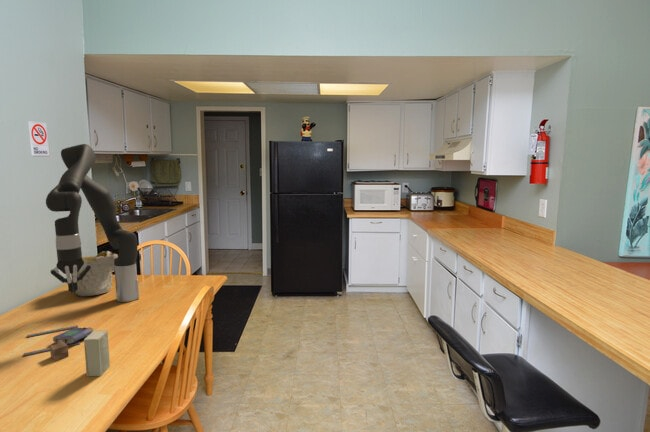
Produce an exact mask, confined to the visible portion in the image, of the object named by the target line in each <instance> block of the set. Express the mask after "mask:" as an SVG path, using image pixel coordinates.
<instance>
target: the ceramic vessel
mask: <svg viewBox="0 0 650 432" xmlns="http://www.w3.org/2000/svg"><path fill="white" fill-rule="evenodd" d="M118 256H119V254H117V253H115V252H112V251H109V250H105V251H101V252H99V253H98V254H96V255H90V256H82V259H83V261H84V263H85V264H87V265H88V264H89V265H90V266H91V268H90V269H89V271H88V272H87V273H86V275H85V276H84V277H83V279H82V280H79V281H78V282H77V287H78V290H76V292H74V293H75V295H76V296H79V297H90V296H92V297H93V296H98V295H101V294H106V293H108V292H109V291H111V289H112V286H113V272H115V269H114V259H115V258H117V257H118ZM83 270H84V269H83V266H82V268H81V269H80V270H79V272H77V277H78V276H79V275H80V274H81V272H82V271H83ZM70 276H71V280H72V282H73V273H71V274H70ZM72 284H73V283H72Z"/></svg>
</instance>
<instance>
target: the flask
mask: <svg viewBox="0 0 650 432" xmlns="http://www.w3.org/2000/svg"><path fill="white" fill-rule="evenodd" d="M93 331H94V328H92V327H78V328H77V327H75V328H73V329H69V330H65V331H64V332H62V333H59V334H57V335H54V336H53V337H52V341H53V342H54V343H55V344H58V343H62V342H64V343H66V344H71V343H74V342H79V341H80V340H81V339H85V338H86V337H87V336H88V335H90V334H91V333H92V332H93Z"/></svg>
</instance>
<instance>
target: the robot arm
mask: <svg viewBox="0 0 650 432" xmlns="http://www.w3.org/2000/svg"><path fill="white" fill-rule="evenodd" d="M60 157H61V160H62V162H63V163H64V165H65V167H66V168H67V170H66V171H64V173H62V175H61V177H60V179H59V182H58V184H57V185H56V186H55V187H54V188H52V189H51V190H50V191H49V192H48V194H47V195H46V198H45V205H46V207H47V209H48V210H49V211H51V212H55V213H56V212H57V213H58V212H69V214H68V215H67V216H64V217H60V218H57V219H56V220H54V230H55V249H56V258H57V262H56V266H55V267H53V268H52V269H51V270H50V274H51V275H52V276H53V277H55V278H56V279H57V280H59V281H60V282H61V283H65V284H67V287H68V293H69V292H70V293H72V294H73V293H75V292H76V290H78V287H77V282H78V281H79V280H82V279H83V277H84V276H85V275H86V273H87V272H88V271H89V269H90V268H91V266H90V265H89V264H88V265H87V264H85V263H84V261H83V259H82V257H83V254H82V253H83V252H82V242H81V241H82V240H81V236H80V228H79V218H80V211H81V208H82V204H83V203H82V202H83V200H82V199H83V198H82V196H81V194H80V190H81V192H82V193H83V195H84V197H85V199H86V201H87V202H88V203H87V204H89V206H90V208H91V210H92V211H93V213H94V214H95V216H96V218H97V220H98V221H99V224H100V225H101V227H102V230H103V231H104V234H105V236H106V239H107V241H108V243H109V245H110V246H111V248H113V249H115V250H118V257H117V258H115V259H114V269H115V270H114V281H115V297H116V301H117V302H118V303H127V302H133V301H136V300H139V299H140V294H139V293H140V292H139V280H138V279H139V278H138V274H137V272H138V271H137V258H138V237H137V235H136V234H135V232H133V231H131V230H130V231H129V230H124V229H123V228H122V226H121V225H120V223H119V221H118V218H117V214H116V213H117V212H116V211H117V209H116V208H117V206H116V203H115V201H114V199H113V197H112V195H111V193H110V191H109V190H108V189H107V188H106V187H105V186H103V185H101V184H100V183H99V182H96V180H93V179H92V178H90V177H89V176H88V175H87V174H88V173H89V172H90V171H91V169H92V167H93V166H94V164H95V162H96V154H95V152H94V150H93V148H92V147H91V145H90V144H86V143H81V144H76V145H73V146H68V147H65V148H62V149H61V150H60ZM82 266H83V269H84V270H83V271H82V272H81V274H80V275H79V276H78V277H77V272H79V270H80V269H81V268H82ZM60 272H61V273H63V274H65V277H64V276H63V275H62V274H60ZM71 273H73V282H72V276H71ZM72 283H73V284H72Z"/></svg>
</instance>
